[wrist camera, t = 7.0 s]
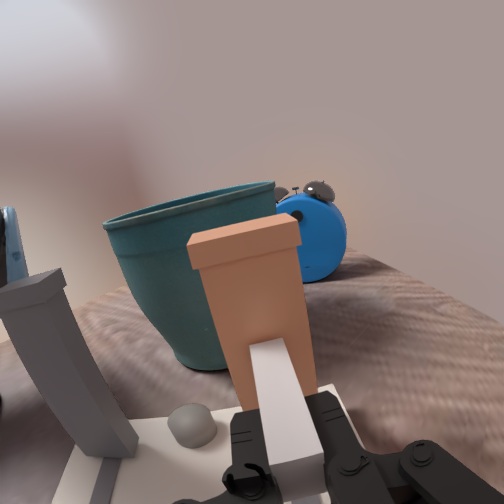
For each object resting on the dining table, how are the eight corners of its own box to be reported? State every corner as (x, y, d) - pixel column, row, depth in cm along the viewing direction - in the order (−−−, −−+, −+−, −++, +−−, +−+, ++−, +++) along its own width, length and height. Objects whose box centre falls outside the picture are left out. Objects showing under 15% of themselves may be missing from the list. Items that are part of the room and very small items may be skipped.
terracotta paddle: (249, 423, 17) (192, 233, 14) (316, 407, 17) (285, 212, 14) (253, 450, 15) (186, 245, 11) (326, 433, 15) (297, 220, 12)
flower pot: (217, 301, 47) (190, 193, 42) (326, 311, 36) (304, 172, 32) (126, 363, 33) (76, 230, 29) (242, 414, 22) (180, 208, 18)
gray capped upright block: (91, 435, 17) (10, 282, 14) (142, 435, 17) (60, 267, 14) (83, 457, 14) (-13, 296, 11) (136, 460, 15) (38, 282, 11)
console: (102, 443, 20) (77, 407, 19) (334, 410, 21) (331, 368, 19) (64, 571, 6) (17, 544, 5) (401, 559, 7) (420, 539, 6)
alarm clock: (351, 265, 49) (338, 175, 45) (350, 280, 43) (336, 179, 39) (276, 273, 53) (259, 188, 49) (267, 287, 48) (247, 193, 44)
